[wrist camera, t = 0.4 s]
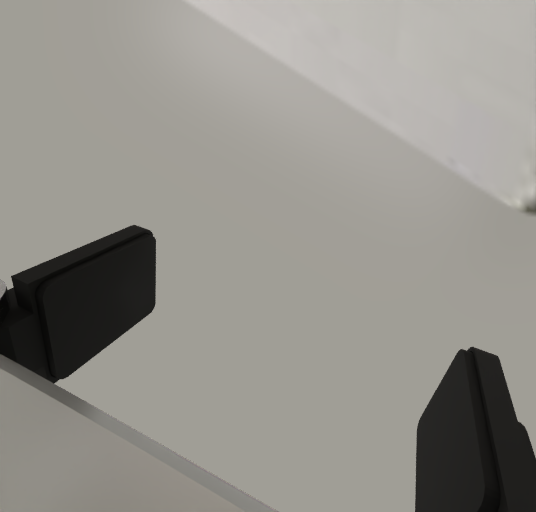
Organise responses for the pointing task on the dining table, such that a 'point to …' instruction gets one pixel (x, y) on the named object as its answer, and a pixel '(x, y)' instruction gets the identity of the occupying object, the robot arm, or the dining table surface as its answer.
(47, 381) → the robot arm
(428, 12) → the dining table surface
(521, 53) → the dining table surface
